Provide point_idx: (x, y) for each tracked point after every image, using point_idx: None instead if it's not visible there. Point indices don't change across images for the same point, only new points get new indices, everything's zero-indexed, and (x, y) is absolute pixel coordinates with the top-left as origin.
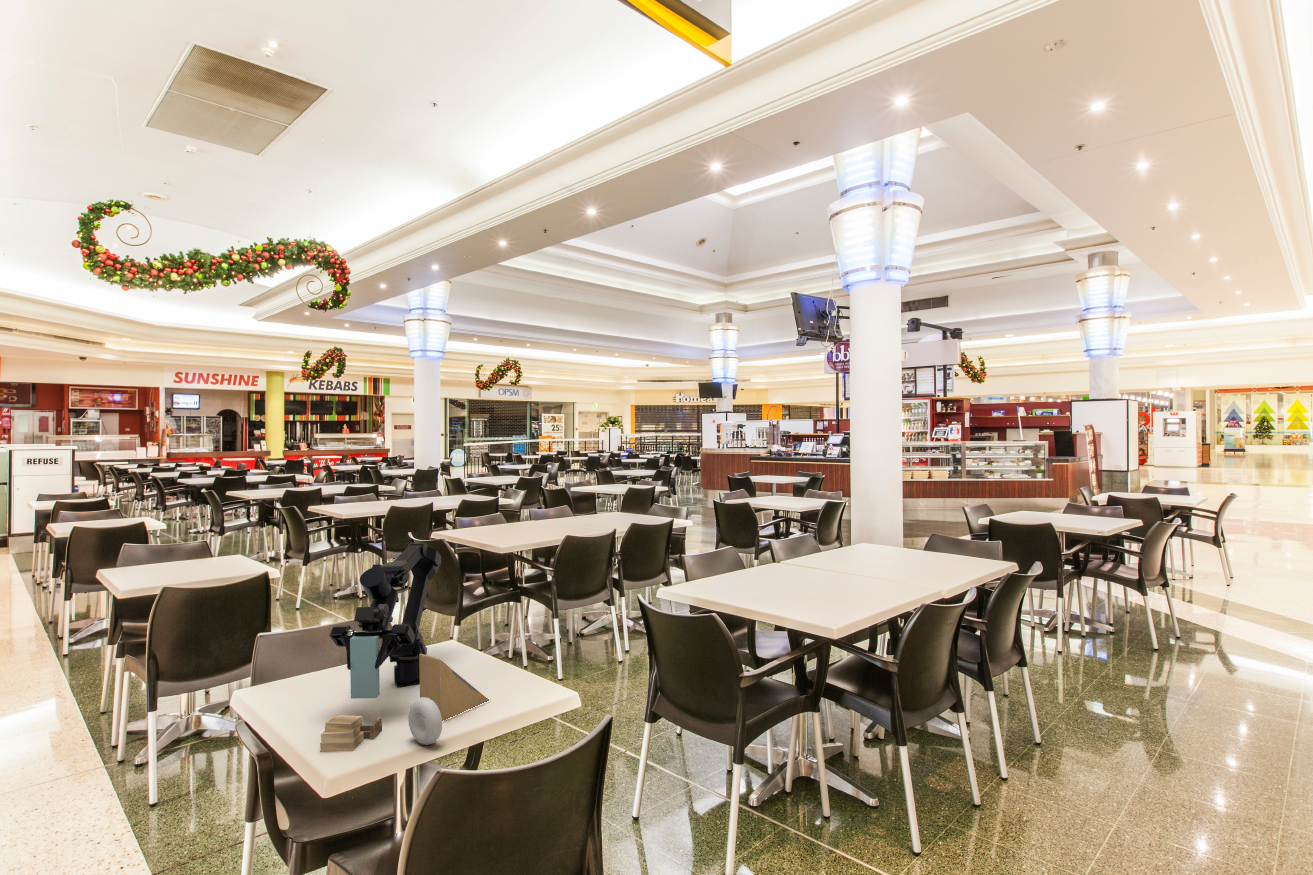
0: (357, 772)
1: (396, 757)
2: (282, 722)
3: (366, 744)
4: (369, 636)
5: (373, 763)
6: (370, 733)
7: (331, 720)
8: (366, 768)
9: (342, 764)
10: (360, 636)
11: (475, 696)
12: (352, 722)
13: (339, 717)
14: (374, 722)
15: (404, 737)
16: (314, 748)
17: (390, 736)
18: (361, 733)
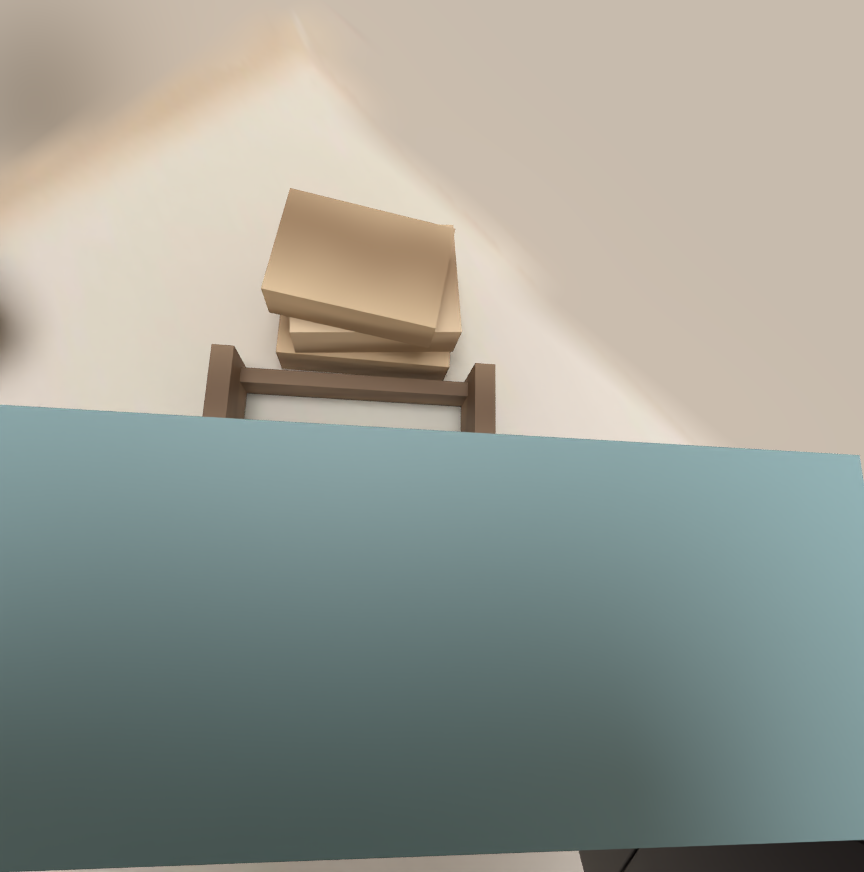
0: (199, 80)
1: (54, 171)
2: None
3: (250, 320)
4: (20, 757)
5: (152, 137)
6: (242, 363)
7: (433, 255)
8: (170, 103)
9: (291, 153)
10: (562, 807)
11: None
12: (287, 205)
13: (403, 291)
14: (223, 391)
15: (61, 372)
16: (489, 315)
17: (146, 394)
18: (281, 335)
